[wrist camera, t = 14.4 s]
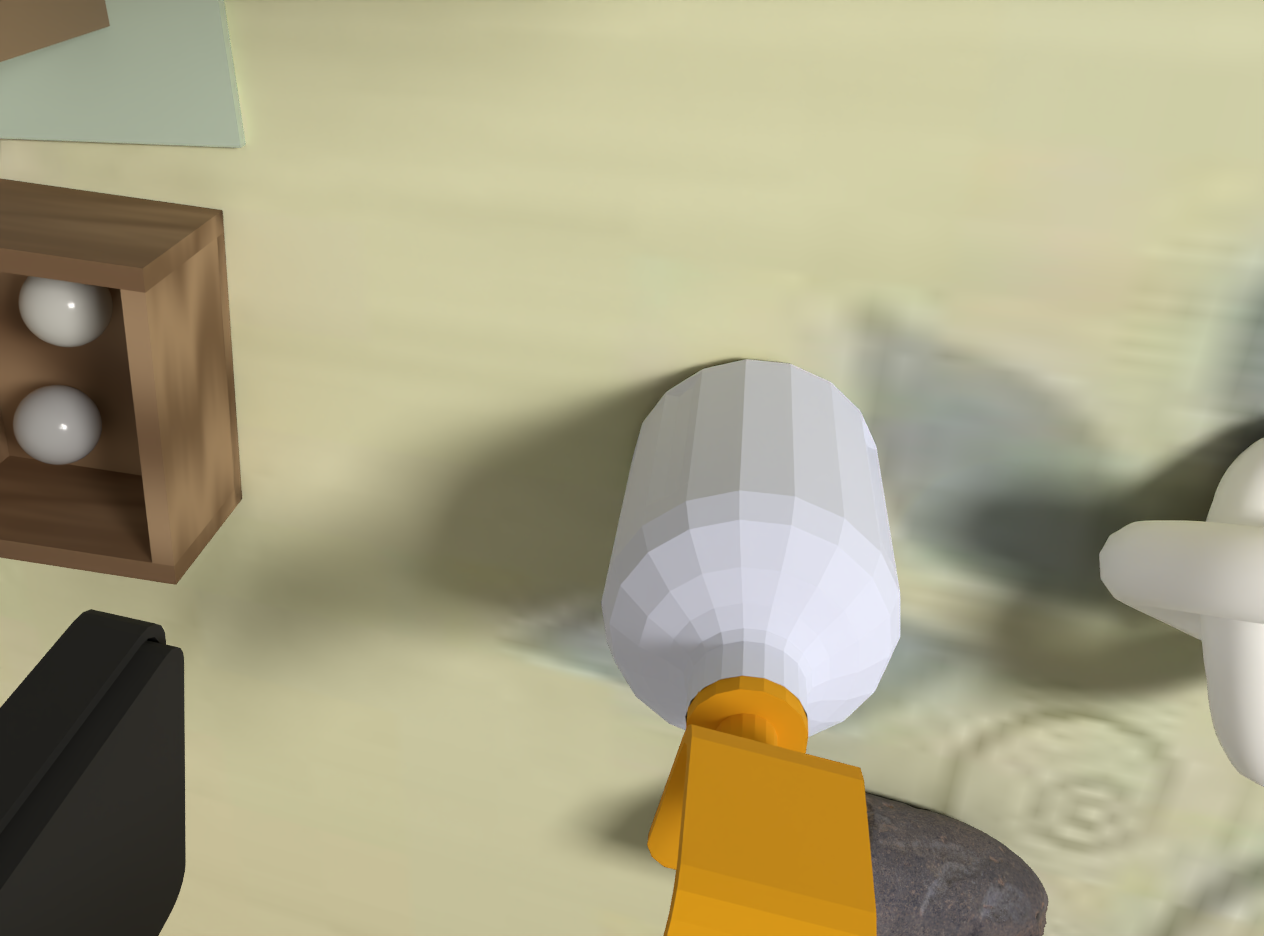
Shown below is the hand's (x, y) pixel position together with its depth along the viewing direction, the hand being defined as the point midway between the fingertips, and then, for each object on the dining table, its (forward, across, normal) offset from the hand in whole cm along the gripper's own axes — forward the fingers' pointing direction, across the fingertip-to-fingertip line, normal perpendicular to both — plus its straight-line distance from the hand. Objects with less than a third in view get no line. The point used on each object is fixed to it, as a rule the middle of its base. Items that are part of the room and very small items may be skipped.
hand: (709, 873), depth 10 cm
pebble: (+31, +23, +17) cm, 42 cm away
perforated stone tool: (+32, -13, +30) cm, 45 cm away
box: (+32, +22, +15) cm, 41 cm away
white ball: (+31, +22, +12) cm, 40 cm away
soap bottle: (+32, -3, +14) cm, 35 cm away
